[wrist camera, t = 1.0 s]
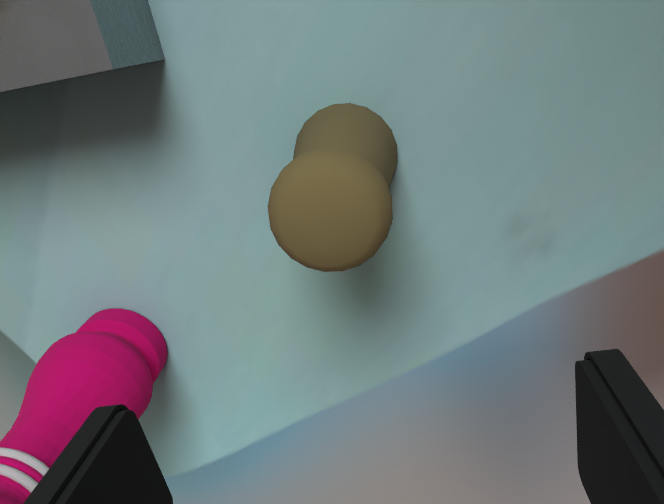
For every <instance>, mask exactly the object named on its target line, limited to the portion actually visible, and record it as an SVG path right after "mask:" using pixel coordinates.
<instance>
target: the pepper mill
mask: <svg viewBox="0 0 664 504" xmlns="http://www.w3.org/2000/svg"><path fill="white" fill-rule="evenodd" d="M166 360H167V347H166V342H165V340H164V338H163V336H162V334H161V332H160V331H159V330H158V329H157V327H156V326H155V325H154V324H153V323H152V322H150V321H149V320H148V319H147V318H145V317H144V316H142V315H140V314H138V313H135V312H133V311H130V310H125V309H106V310H102V311H99V312H97V313H96V314H94V315H93V316H91V317H90V318H89V319H88V320H87V321H86V322H85V323H84V324H83V325H82V326H81V327H80V328H79V329H78V331H77V332H76V333H73V334H70V335H67V336H65V337H63V338H61V339H59V340H58V341H57V342H55V343H54V344H52V346H51V347H50V348H49V349H48V350H47V351H46V352H45V354H44V355H43V356H42V357H41V359H40V360H39V361H38V363H37V365H36V366H35V368H34V371H33V373H32V375H31V377H30V379H29V382H28V385H27V389H26V392H25V396H24V400H23V403H22V406H21V409H20V412H19V415H18V417H17V419H16V421H15V423H14V424H13V426H12V428H11V430H10V431H9V432H8V433H7V434H6V436H5V437H4V438H3V439H2V440H1V441H0V504H23V503H24V502H25V500H26V499H27V498H28V496H29V495H30V494H31V492H32V491H33V490H34V488H35V487H36V486H37V484H38V483H39V482H40V480H41V479H42V478H43V476H44V475H45V474H46V472H47V471H48V470H49V468H50V467H51V466H52V464H53V463H54V462H55V460H56V459H57V458H58V456H59V455H60V454H61V452H62V451H63V450H64V448H65V447H66V446H67V444H68V443H69V442H70V440H71V439H72V438H73V436H74V435H75V434H76V432H77V431H78V430H79V428H80V427H81V426H82V424H83V423H84V422H85V420H86V419H87V418H88V416H89V415H90V414H91V412H92V411H93V410H94V409H95V408H97V407H101V406H109V405H118V404H123V405H125V406H126V407H127V408H128V409H129V410H132V411H133V412H134V413H135V414H136V416H137V418H138V419H139V418H140V416H141V415H142V414H143V412H144V411H145V410H146V408H147V407H148V404H149V402H150V400H151V397H152V389H153V383H154V381H155V380H156V378H157V377H158V375H159V374H160V372H161V370H162V369H163V367H164V366H165V363H166Z"/></svg>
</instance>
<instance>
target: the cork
mask: <svg viewBox="0 0 664 504" xmlns="http://www.w3.org/2000/svg"><path fill="white" fill-rule="evenodd" d="M397 162H398V161H397V144H396V141H395V138H394V136H393V133H392V130H391V129H390V128H389V126H388V125H387V124H386V123H385V121H384V120H383V119H382V118H381V117H380V116H379V115H377V114H376V113H374V112H373V111H371V110H370V109H368V108H367V107H363V106H359V105H355V104H351V103H347V104H333V105H331V106H329V107H326V108H324V109H321V110H319V111H317V112H316V113H315V114H314V115H313V116H312V117H310V118H309V119H308V120H307V121H306V122H305V124H304V125H303V127H302V129H301V131H300V132H299V134H298V136H297V140H296V145H295V150H294V157H293V161H291V162H290V163H289V164H288V165H287V166H286V167H284V168H283V170H282V171H281V172H280V174H279V176H278V178H277V179H276V181H275V183H274V184H273V186H272V188H271V192H270V197H269V203H268V213H269V220H270V227H271V230H272V232H273V235H274V237H275V239H276V241H277V243H278V245H279V246H280V247H281V248H282V249H283V250H284V251H285V252H286V253H287V254H288V255H289V256H290V258H292V259H293V260H295V261H297V262H299V263H300V264H302V265H304V266H305V267H308V268H312V269H316V270H320V271H324V272H330V271H344V270H347V269H350V268H353V267H356V266H359V265H361V264H362V263H363V262H365V261H366V260H368V259H369V258H370V257H372V256H373V255H374V254H375V253H376V251H377V250H378V249H379V247H380V246H381V245H382V243H383V242H384V240H385V239H386V238H387V236H388V232H389V229H390V226H391V223H392V219H393V218H392V196H391V193H390V191H389V188H388V187H389V185H390V183H391V180H392V178H393V175H394V172H395V168H396V165H397Z"/></svg>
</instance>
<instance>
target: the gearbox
mask: <svg viewBox="0 0 664 504" xmlns="http://www.w3.org/2000/svg"><path fill="white" fill-rule="evenodd" d="M159 60H164V55H163V52H162V48H161V45H160V42H159V38H158V35H157V31H156V28H155V25H154V21H153V18H152V14H151V11H150V8H149V4H148V1H147V0H0V92H5V91H10V90H15V89H20V88H25V87H30V86H35V85H40V84H45V83H50V82H55V81H60V80H65V79H70V78H75V77H80V76H85V75H90V74H95V73H99V72H104V71H109V70H114V69H119V68H124V67H129V66H134V65H139V64H144V63H149V62H154V61H159Z"/></svg>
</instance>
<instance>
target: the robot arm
mask: <svg viewBox="0 0 664 504" xmlns="http://www.w3.org/2000/svg"><path fill="white" fill-rule="evenodd" d="M575 379H576V415H577V452H578V469H579V474H580V478H581V481H582V484H583V486H584V489H585V491H586V493H587V495H588V498H589V500H590V502H591V504H664V410H663V409H662V407H661V406H660V404H659V403H658V402H657V400H656V399H655V398H654V396H653V395H652V393H651V392H650V391H649V389H648V388H647V387H646V385H645V384H644V383H643V381H642V380H641V379H640V377H639V376H638V375H637V373H636V372H635V370H634V369H633V367H632V366H631V365H630V363H629V362H628V360H627V359H626V358H625V356H624V355H623V354H622V352H621V351H620V350H618V349H611V350H602V351H593V352H587V353H585V356H584V360H582V361H577V362H576V364H575ZM23 504H173V499H172V496H171V493H170V491H169V488H168V486H167V484H166V482H165V479H164V477H163V475H162V473H161V470H160V468H159V466H158V464H157V461H156V459H155V457H154V455H153V452H152V450H151V448H150V445H149V443H148V441H147V439H146V436H145V434H144V432H143V430H142V427H141V425H140V423H139V421H138V418H137V416H136V414H135V413H134V412H133V411H132V410H129V409H128V408H127V407H126V406H125V405H123V404H118V405H109V406H101V407H97V408H95V409H94V410H93V411H92V412H91V414H90V415H89V416H88V418H87V419H86V420H85V422H84V423H83V424H82V426H81V427H80V428H79V430H78V431H77V432H76V434H75V435H74V436H73V438H72V439H71V440H70V442H69V443H68V444H67V446H66V447H65V448H64V450H63V451H62V452H61V454H60V455H59V456H58V458H57V459H56V460H55V462H54V463H53V464H52V466H51V467H50V468H49V470H48V471H47V472H46V474H45V475H44V476H43V478H42V479H41V480H40V482H39V483H38V484H37V486H36V487H35V488H34V490H33V491H32V492H31V494H30V495H29V496H28V498H27V499H26V500H25V502H24V503H23Z"/></svg>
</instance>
